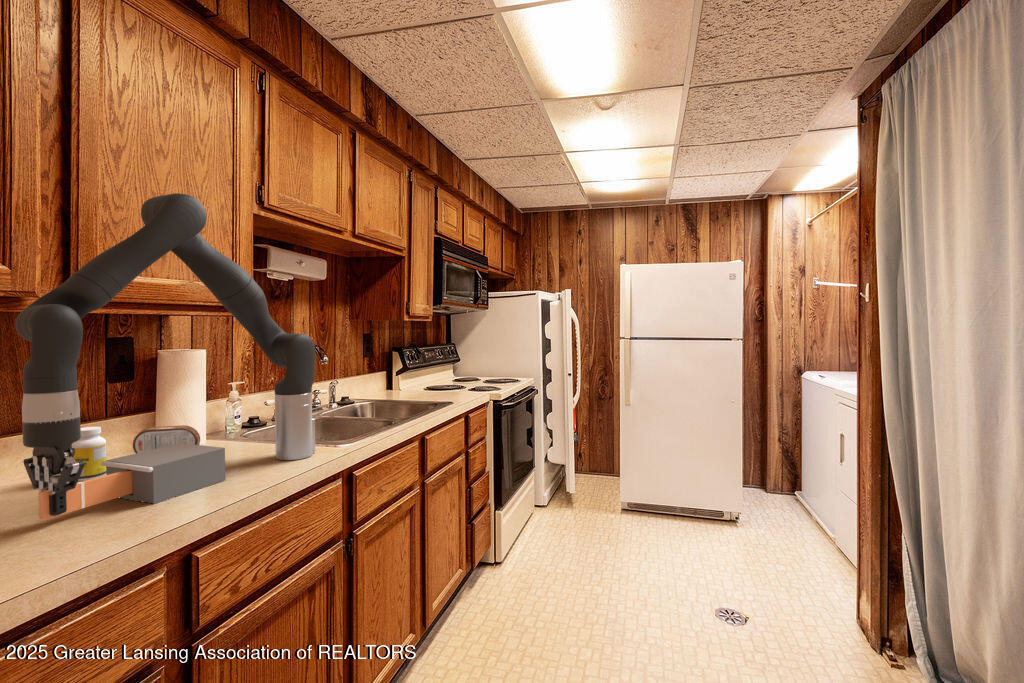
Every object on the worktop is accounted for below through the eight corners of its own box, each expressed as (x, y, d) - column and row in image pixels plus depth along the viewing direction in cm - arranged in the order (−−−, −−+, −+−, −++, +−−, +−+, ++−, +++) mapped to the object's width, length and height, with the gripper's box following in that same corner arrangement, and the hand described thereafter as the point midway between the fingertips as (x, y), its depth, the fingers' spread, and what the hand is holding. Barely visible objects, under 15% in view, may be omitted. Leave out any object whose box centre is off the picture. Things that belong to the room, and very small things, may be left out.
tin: (200, 453, 137) (200, 423, 137) (198, 456, 134) (197, 425, 134) (135, 458, 132) (134, 427, 131) (131, 461, 129) (130, 429, 129)
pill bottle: (65, 479, 113) (63, 429, 113) (98, 472, 119) (97, 424, 119) (78, 483, 110) (76, 432, 110) (112, 476, 116) (111, 427, 116)
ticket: (145, 487, 103) (144, 465, 103) (149, 488, 103) (149, 465, 103) (38, 519, 86) (38, 492, 86) (43, 520, 86) (42, 493, 86)
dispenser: (181, 474, 117) (180, 443, 117) (225, 480, 112) (224, 447, 112) (101, 497, 101) (100, 461, 101) (148, 505, 96) (147, 467, 96)
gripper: (101, 415, 89) (103, 510, 89) (53, 411, 93) (56, 502, 94) (50, 423, 82) (53, 526, 82) (1, 418, 86) (4, 516, 87)
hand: (54, 513), depth 88 cm, fingers closed
